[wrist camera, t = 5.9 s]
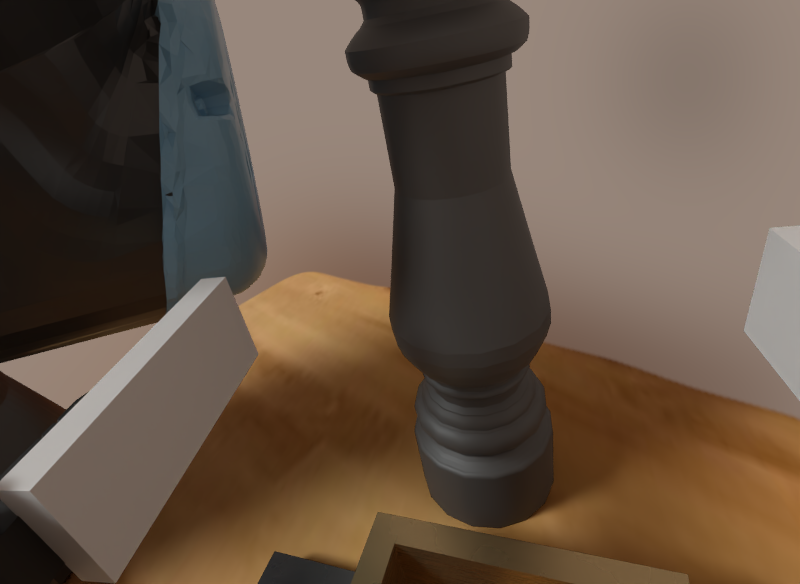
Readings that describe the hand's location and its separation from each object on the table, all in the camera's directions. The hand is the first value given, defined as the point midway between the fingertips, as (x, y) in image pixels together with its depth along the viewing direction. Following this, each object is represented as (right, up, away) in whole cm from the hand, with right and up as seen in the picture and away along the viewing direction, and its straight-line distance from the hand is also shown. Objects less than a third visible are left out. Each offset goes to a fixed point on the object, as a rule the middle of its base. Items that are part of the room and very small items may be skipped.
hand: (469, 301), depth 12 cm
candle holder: (+3, -9, +11) cm, 14 cm away
